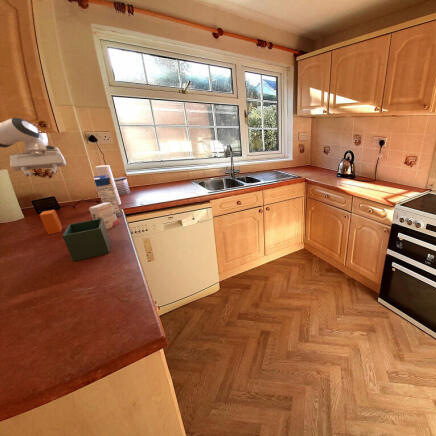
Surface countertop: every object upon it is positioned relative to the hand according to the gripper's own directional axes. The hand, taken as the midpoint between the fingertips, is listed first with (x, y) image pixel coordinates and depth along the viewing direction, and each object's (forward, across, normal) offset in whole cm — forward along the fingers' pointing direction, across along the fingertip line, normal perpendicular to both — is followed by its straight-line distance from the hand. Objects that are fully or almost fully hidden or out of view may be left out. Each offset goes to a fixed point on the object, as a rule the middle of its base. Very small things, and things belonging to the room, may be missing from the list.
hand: (40, 174), depth 121 cm
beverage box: (+21, +24, +17) cm, 36 cm away
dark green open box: (+54, +18, -17) cm, 59 cm away
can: (-16, +27, +54) cm, 62 cm away
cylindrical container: (+5, +24, +33) cm, 41 cm away
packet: (+28, 0, +9) cm, 29 cm away
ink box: (+35, +22, +2) cm, 41 cm away
